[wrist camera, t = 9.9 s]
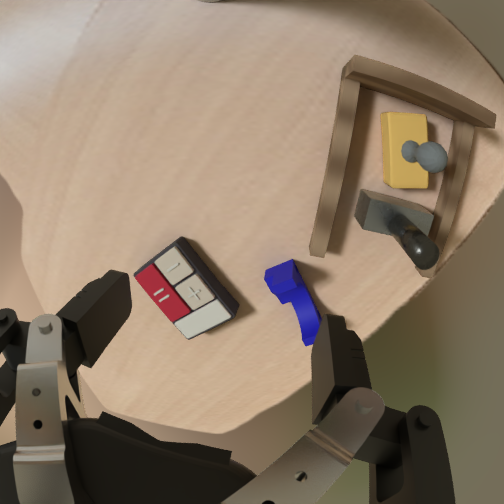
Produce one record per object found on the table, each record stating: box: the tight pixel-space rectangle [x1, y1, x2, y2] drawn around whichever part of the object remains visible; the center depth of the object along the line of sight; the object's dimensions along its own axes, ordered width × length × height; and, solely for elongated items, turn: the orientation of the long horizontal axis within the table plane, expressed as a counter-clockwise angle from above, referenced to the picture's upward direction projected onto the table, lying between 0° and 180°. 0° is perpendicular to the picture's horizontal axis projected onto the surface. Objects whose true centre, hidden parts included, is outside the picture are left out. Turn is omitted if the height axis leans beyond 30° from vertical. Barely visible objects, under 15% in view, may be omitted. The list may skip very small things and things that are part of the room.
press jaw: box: [354, 189, 440, 270], centre depth 31 cm, size 4×9×14 cm, turn 82°
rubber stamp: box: [380, 112, 448, 188], centre depth 28 cm, size 10×6×12 cm, turn 7°
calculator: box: [134, 237, 239, 340], centre depth 46 cm, size 11×4×15 cm
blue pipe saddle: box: [264, 259, 322, 346], centre depth 43 cm, size 12×4×6 cm, turn 28°
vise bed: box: [309, 55, 496, 278], centre depth 32 cm, size 26×20×8 cm
